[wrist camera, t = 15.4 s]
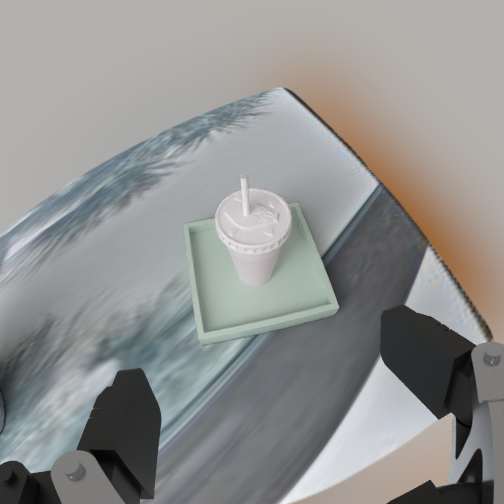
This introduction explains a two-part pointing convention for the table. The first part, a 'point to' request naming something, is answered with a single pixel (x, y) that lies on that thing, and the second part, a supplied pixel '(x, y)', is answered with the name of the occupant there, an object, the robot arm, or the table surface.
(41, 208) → the table surface
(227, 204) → the smoothie
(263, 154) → the table surface
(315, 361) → the table surface
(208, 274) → the tray
